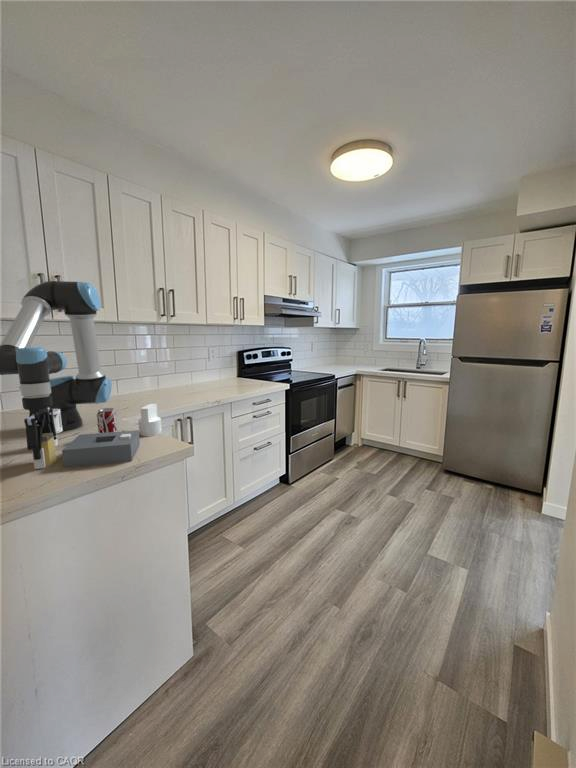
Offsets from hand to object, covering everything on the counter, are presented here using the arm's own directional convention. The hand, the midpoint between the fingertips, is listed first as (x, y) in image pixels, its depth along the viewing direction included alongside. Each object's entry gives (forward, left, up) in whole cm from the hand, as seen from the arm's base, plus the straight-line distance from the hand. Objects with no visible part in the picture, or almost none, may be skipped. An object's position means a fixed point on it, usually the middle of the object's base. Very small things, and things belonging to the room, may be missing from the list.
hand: (45, 463), depth 103 cm
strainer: (-19, -5, -1) cm, 20 cm away
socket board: (-3, +17, 0) cm, 17 cm away
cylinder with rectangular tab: (-26, +29, -1) cm, 39 cm away
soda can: (-24, +13, -1) cm, 27 cm away
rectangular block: (0, 0, 0) cm, 0 cm away
